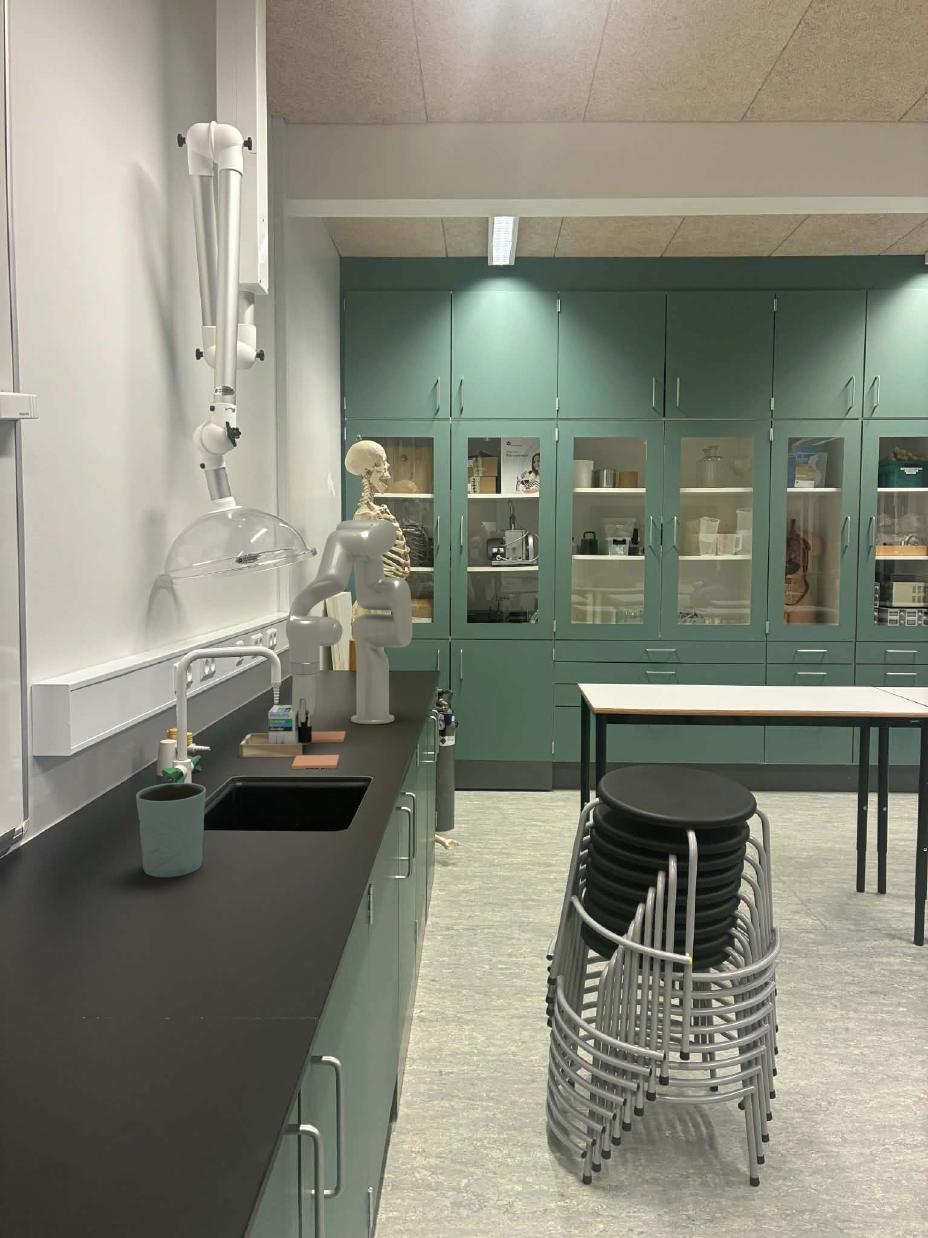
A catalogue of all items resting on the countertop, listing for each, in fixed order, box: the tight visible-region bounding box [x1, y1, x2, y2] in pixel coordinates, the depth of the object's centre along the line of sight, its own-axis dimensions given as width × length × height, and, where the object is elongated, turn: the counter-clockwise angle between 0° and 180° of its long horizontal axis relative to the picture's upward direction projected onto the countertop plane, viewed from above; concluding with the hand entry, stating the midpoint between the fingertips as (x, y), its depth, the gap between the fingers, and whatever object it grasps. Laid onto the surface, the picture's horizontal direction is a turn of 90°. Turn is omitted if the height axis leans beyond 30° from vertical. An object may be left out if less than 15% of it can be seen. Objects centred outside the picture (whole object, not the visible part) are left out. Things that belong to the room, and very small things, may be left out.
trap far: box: [310, 730, 346, 744], centre depth 225 cm, size 10×10×1 cm
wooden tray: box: [238, 732, 309, 759], centre depth 210 cm, size 14×15×3 cm
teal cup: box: [135, 782, 207, 878], centre depth 130 cm, size 10×10×12 cm
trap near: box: [291, 754, 340, 770], centre depth 197 cm, size 10×10×1 cm
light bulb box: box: [267, 704, 300, 744], centre depth 210 cm, size 11×7×11 cm, turn 5°
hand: (305, 742), depth 211 cm, fingers closed
